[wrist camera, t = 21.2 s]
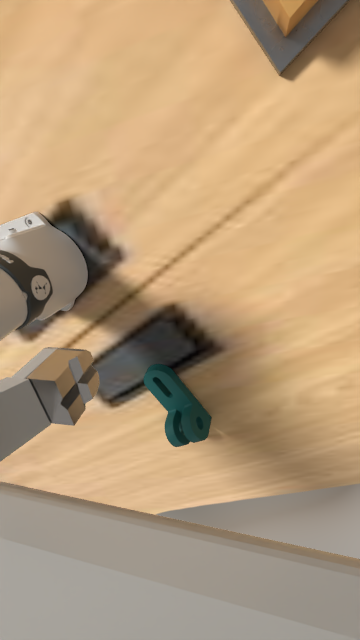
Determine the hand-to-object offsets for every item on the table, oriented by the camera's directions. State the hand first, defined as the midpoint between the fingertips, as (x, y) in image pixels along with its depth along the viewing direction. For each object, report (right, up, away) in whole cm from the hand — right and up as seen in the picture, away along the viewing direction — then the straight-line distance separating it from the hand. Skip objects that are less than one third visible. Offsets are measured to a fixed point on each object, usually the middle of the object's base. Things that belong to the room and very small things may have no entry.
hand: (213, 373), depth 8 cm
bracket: (-2, -15, +54) cm, 56 cm away
